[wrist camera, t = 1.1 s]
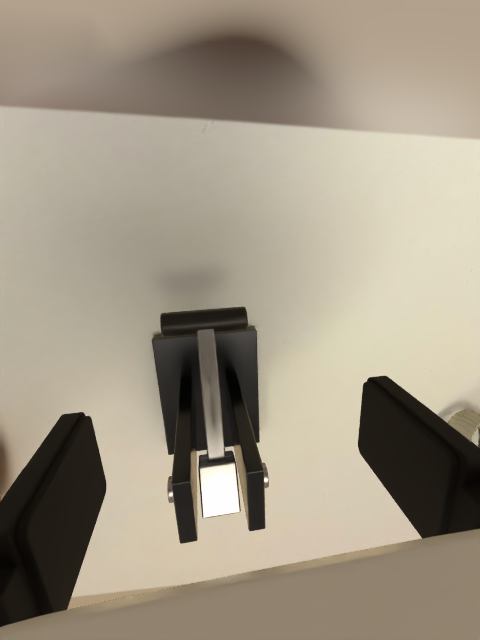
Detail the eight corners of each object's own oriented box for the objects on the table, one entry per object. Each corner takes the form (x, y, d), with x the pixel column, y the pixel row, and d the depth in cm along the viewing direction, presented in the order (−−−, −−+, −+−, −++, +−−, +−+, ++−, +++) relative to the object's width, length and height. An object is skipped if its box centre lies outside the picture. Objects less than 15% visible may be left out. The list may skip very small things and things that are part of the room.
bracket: (153, 335, 26) (119, 428, 14) (254, 326, 27) (301, 405, 15) (169, 446, 30) (152, 595, 18) (257, 434, 31) (297, 567, 19)
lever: (164, 316, 21) (158, 310, 18) (242, 309, 21) (246, 302, 19) (176, 504, 19) (172, 524, 17) (261, 491, 20) (269, 508, 17)
